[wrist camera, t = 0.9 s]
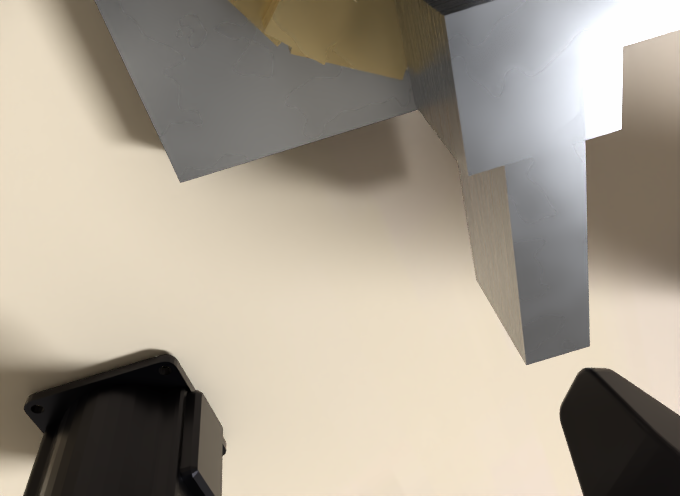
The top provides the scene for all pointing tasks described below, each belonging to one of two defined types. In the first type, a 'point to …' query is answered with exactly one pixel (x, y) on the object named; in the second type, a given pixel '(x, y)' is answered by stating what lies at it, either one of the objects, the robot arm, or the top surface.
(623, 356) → the top surface
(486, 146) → the grey and tan model
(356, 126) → the flange
